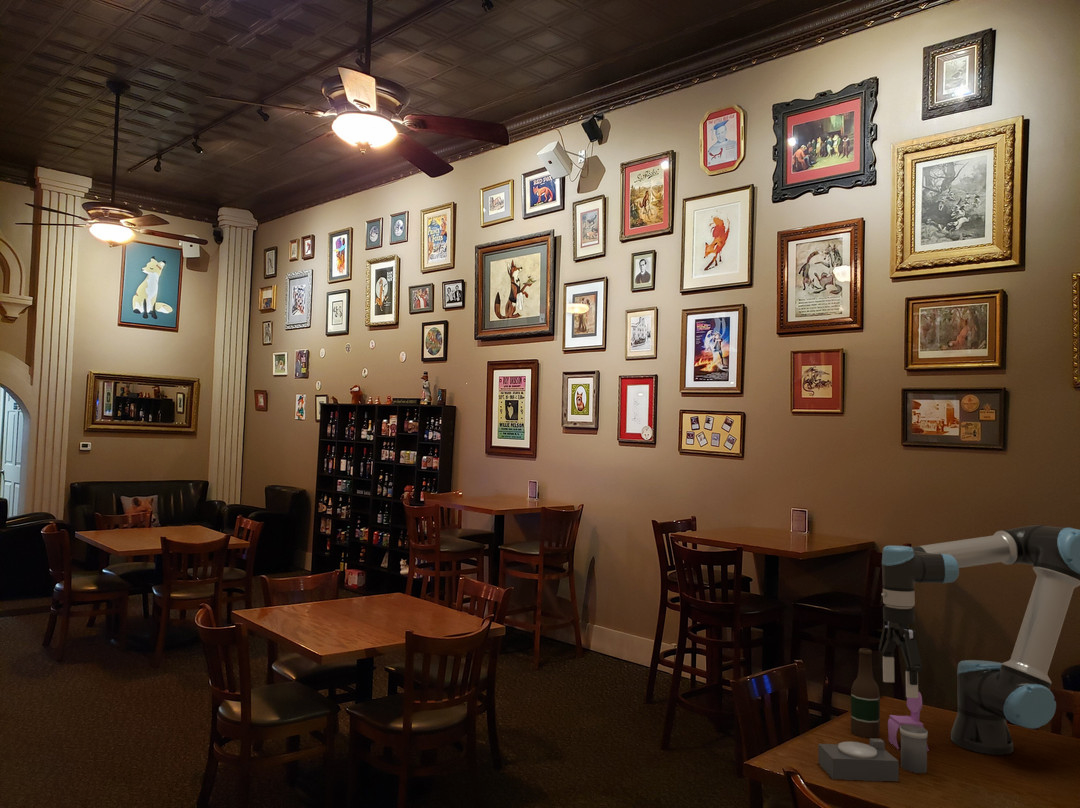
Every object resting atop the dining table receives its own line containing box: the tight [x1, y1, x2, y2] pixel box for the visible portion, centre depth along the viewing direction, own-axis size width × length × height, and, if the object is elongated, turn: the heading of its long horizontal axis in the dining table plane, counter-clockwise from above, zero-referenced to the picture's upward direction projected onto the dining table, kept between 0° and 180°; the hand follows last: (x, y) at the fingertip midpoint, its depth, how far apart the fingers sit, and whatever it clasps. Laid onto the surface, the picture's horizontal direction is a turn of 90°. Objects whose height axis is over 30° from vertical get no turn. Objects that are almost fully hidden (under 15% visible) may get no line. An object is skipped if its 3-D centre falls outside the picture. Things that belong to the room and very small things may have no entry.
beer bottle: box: [850, 647, 881, 739], centre depth 222 cm, size 8×8×24 cm
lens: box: [899, 725, 929, 774], centre depth 197 cm, size 6×6×10 cm
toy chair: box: [887, 691, 930, 752], centre depth 213 cm, size 8×9×15 cm
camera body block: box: [817, 738, 900, 782], centre depth 193 cm, size 16×10×7 cm, turn 90°
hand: (900, 689), depth 199 cm, fingers open, 13 cm apart
